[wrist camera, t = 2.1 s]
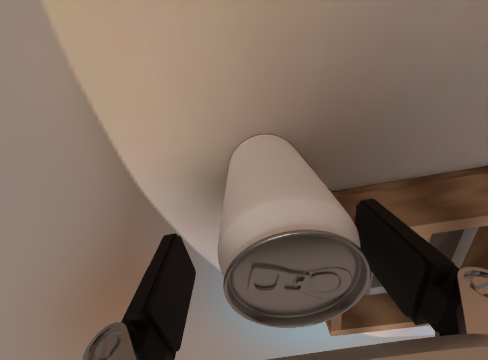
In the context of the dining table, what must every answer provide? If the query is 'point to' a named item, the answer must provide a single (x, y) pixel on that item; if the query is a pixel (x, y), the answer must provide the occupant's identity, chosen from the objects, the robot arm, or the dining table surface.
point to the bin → (428, 227)
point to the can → (286, 240)
